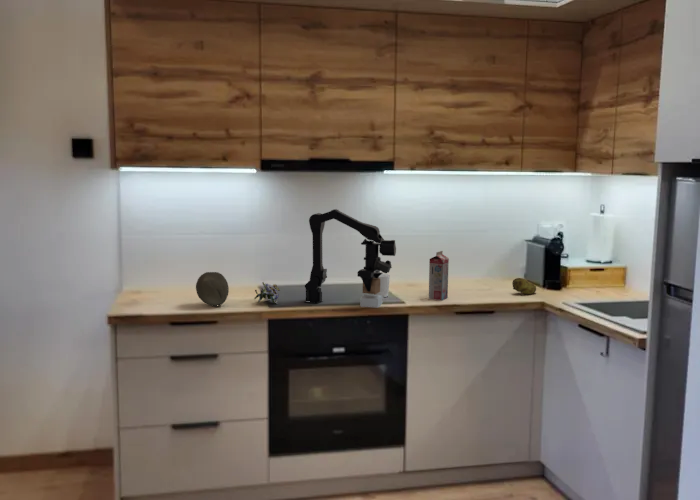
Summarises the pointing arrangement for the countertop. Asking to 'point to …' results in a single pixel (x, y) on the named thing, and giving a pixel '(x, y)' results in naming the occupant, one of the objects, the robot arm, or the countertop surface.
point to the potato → (523, 286)
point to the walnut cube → (373, 286)
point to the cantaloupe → (212, 288)
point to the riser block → (371, 301)
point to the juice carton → (438, 277)
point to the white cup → (384, 285)
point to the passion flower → (268, 293)
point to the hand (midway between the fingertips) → (371, 290)
